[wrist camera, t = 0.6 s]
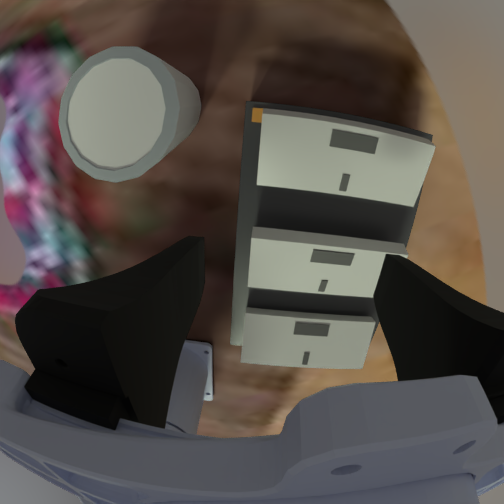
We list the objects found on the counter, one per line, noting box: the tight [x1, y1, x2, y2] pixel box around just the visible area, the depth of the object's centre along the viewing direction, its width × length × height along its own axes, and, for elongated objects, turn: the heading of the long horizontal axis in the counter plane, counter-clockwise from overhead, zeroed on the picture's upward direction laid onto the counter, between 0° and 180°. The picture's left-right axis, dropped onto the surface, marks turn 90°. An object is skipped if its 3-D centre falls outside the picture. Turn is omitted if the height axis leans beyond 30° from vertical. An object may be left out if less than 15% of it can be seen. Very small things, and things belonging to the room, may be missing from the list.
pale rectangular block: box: [241, 307, 376, 369], centre depth 21 cm, size 4×9×1 cm, turn 85°
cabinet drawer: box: [257, 108, 436, 207], centre depth 15 cm, size 4×9×1 cm, turn 86°
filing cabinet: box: [230, 101, 433, 346], centre depth 20 cm, size 18×11×4 cm, turn 175°
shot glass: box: [59, 47, 201, 183], centre depth 15 cm, size 7×7×7 cm
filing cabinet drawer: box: [248, 226, 408, 298], centre depth 18 cm, size 4×9×1 cm, turn 86°
